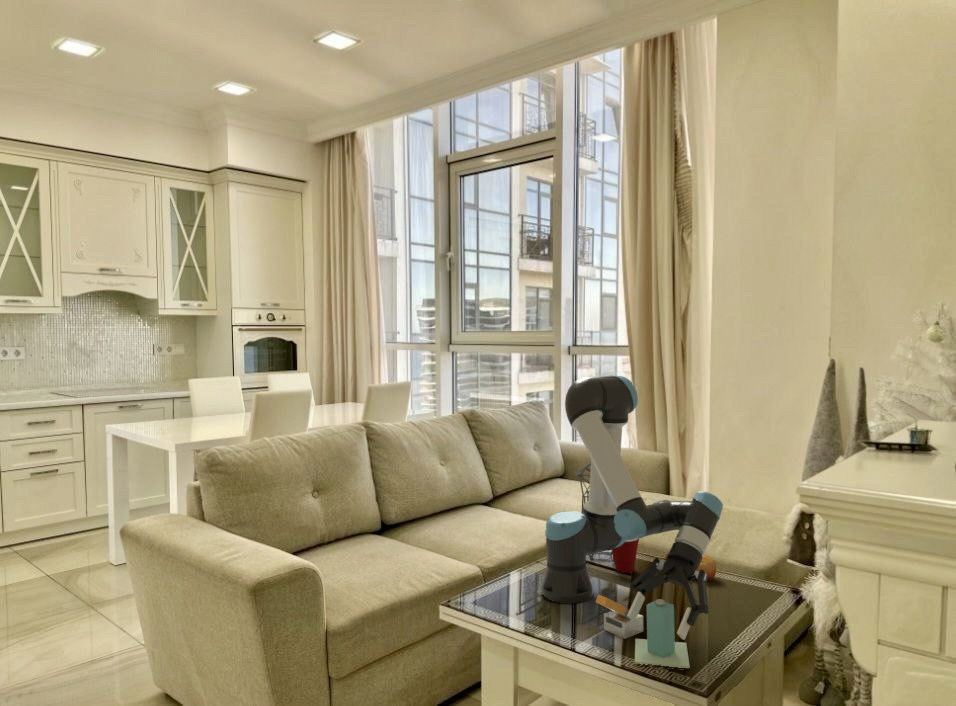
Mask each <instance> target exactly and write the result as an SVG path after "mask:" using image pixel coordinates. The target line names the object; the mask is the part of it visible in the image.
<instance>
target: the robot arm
mask: <svg viewBox="0 0 956 706" xmlns="http://www.w3.org/2000/svg"><path fill="white" fill-rule="evenodd" d="M638 399H639V397H638V392H637V389H636V387H635V385H633V382H632V381H631V380H630V379H629V378H628V377H625V376H623V375H611V374H610V375H600V376H584V377H581V378H579V379H577V380H574V382H572V383H571V385H570V386H569V387H568V389H567V392H566V394H565V401H564V407H565V409H564V410H565V414H566V417H567V421H568V422H569V424H570V427H571V428H572V429H573V430H575V431H577V432H578V434H579V437H580V439H581V440H582V443H583V445H584V447H585V449H586V451H587V453H588V455H589V456H590V459H591V460H590V462H591V465H590V469H591V470H590V471H591V472H590V474H589V475H590V478H589V482H590V484H589V485H590V487H589V489H588V491H589V500H588V501H587V500H586V503H585V504H584V503H583V514H582V512H580V511H577V510H576V511H574V510H570V511H569V510H568V511H561V512H556V513H554V514H552V515H551V516H549V517H548V519H546V524H545V533H544V534H545V543H546V545H545V546H546V547H545V549H546V553H545V554H546V569H545V572H544V576H543V579H542V582H541V586H540V587H541V588H540V589H541V590H540V591H541V592H542V593H541V592H540V593H541V595H542V594H543V595H544V596H546V597H547V598H549V599H551V600H554V601H557V602H556V603H558V602H561V603H560V604H578V603H579V604H580V603H583V602H586V601H589V600H590V599H592V598H593V596H594V594H593V593H594V591H593V590H594V589H593V588H594V587H593V585H592V582H591V581H592V580H591V579H590V576H589V573H588V569H587V556H590V554H593V555H595V554H594V553H598V552H608V551H609V552H610V551H612V550H613V549H614V548H617V547H620V546H621V545H622V544H623V543H624V542H625V541H626V539H628V540H629V539H639V540H640V539H642V538H645V537H649V536H653V535H657V534H663V533H666V532H672V531H677V534H676V537H675V538H674V542H673V543H672V546H671V548H670V549H669V551H670V552H669V551H668V552H669V555H668V559H667V561H666V562H665V561H663V560H660V559H659V558H658V557H655V558H654V559H653V561H652V562H651V564H650V565H649V566H648V567H647V568H646V569H645V570H643V572H641V573H640V574H639V575H638V576H637V577H636V578H635V579H634V580H633V581H632V582H630V587H631V588H632V589H633V590H634V593H633V596H632V598H631V600H630V605H631V606H630V608H629V609H628V610H629V612H628V614H627V616H628V617H629V618H630V619H631V620H632V621H633V622H635V620H636V618H637V615H638V614H640V611H641V608H642V606H643V604H644V602H645V599H646V597H645V596H644V595H646V594H648V593H650V592H651V591H653V590H654V589H656V588H658V587H660V586H661V585H663V584H667V583H670V584H676V585H678V586H681V587H682V586H683V587H684V590H685V592H686V593H685V594H686V595H687V596H686V597H687V599H688V601H689V604H690V607H689V606H688V607H686V610H685V612H684V614H683V617H682V619H681V622H680V624H679V627H678V629H677V631H676V634H677V635H678V637H679V638H680V639H681V640H684V641H685V640H686V637H687V635H688V632H689V630H690V628H691V627H694V626H695V624H696V621H697V619H698V617H699V615H700V614H703V613H704V614H705V615H708V614H709V612H710V609H709V599H708V588H707V582H708V580H707V579H708V576H707V574H706V573H705V571H704V570H700V571H697V569H698V568H699V566H700V563H701V561H702V558H703V557H702V555H705V553H706V550H707V548H708V545H709V543H710V540H711V538H712V536H713V533H714V531H715V529H716V527H717V524H718V522H719V520H720V519H721V518H720V517H721V514H722V511H723V508H724V507H723V506H724V505H723V503H722V500H721V499H719V497H718V496H716V495H715V494H713V493H711V492H709V491H708V492H707V491H702V490H701V491H698V492H696V493H695V494H694V495H693V497H692V500H684V501H683V500H681V501H680V500H668V499H664V500H655V501H654V502H653V503H651V504H647V505H646V502H645V501H644V499H643V497H642V495H641V493H640V492H639V488H637V485H636V483H635V481H634V480H633V477H632V475H631V474H630V472H629V470H628V467H627V465H626V464H625V462H624V460H623V458H622V456H621V453H622V452H621V451H622V438H623V437H622V436H623V427H624V426H625V425H626V424H628V422H629V414H631V413H633V412H634V411H635V409H636V408H637V405H638ZM695 577H696V578H697V579H696V580H697V591H698V600H697V597H696V594H695V591H694V588H693V587H694V586H693V584H692V580H694V579H695Z"/></svg>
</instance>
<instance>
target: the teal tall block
mask: <svg viewBox="0 0 956 706" xmlns="http://www.w3.org/2000/svg"><path fill="white" fill-rule="evenodd" d="M646 639H647V649H648V652H651V653H653V654H656V655H658V656H661V657H666V656H668V655H670V654H671V653H673V652H675V642H676V641H675V639H676V638H675V605H674V604H673V603H670V602H666V601H665V600H664V599H662V598H658V599H657V598H656V599H655V600H654V601H652V602H649V603H648V604H646Z"/></svg>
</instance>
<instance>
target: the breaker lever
mask: <svg viewBox="0 0 956 706" xmlns="http://www.w3.org/2000/svg"><path fill="white" fill-rule="evenodd" d="M595 603H597V604H598V605H601V606H602V607H604V608H606V609H609V610H610V611H614V612H617V613H619V614H621V615H624V616H627V614H628V612H629V610H630V609H629V608H628V607H626V606H624V605H622V604H620V603H618V602H616V601H614V600H612V599H610V598H608V597H606V596H603V595H601V594H597V598H596V599H595Z"/></svg>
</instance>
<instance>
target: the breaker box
mask: <svg viewBox="0 0 956 706" xmlns="http://www.w3.org/2000/svg"><path fill="white" fill-rule="evenodd" d="M603 630H604V631H606V632H608V633H611V634H613V635H615V636H617V637H619V638H622V639H624V640H626V639H628V638H630V637H633V636H635V635H638V634H640V633H643V632H644V615H642V614H640V613H638V615H637V618H636V620H635V622H633V621H632V620H631V619H630V618H629V617H628V616H624V615H621V614H619V613H617V612H614V611H612V610H610V611H608V612H605V613H603Z"/></svg>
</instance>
